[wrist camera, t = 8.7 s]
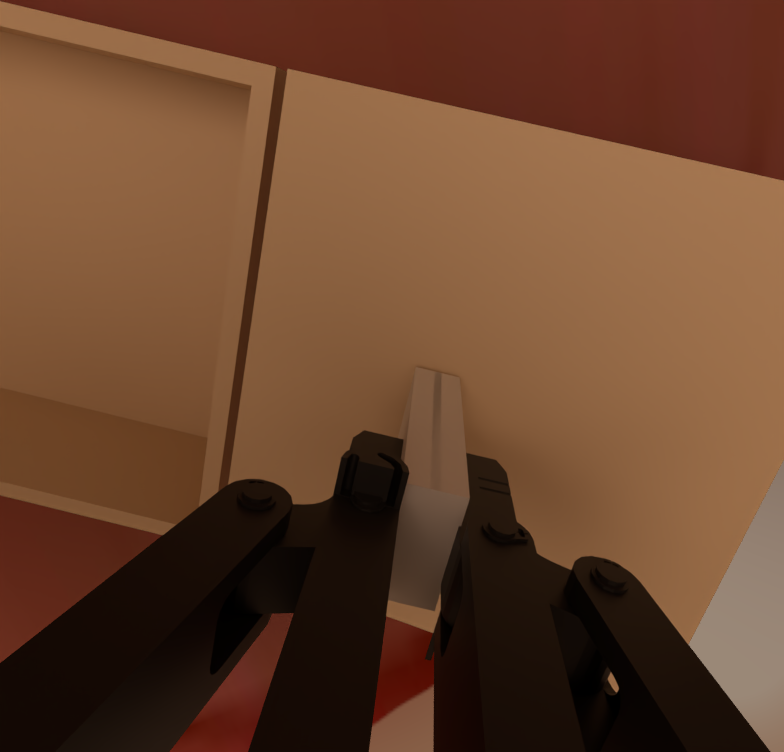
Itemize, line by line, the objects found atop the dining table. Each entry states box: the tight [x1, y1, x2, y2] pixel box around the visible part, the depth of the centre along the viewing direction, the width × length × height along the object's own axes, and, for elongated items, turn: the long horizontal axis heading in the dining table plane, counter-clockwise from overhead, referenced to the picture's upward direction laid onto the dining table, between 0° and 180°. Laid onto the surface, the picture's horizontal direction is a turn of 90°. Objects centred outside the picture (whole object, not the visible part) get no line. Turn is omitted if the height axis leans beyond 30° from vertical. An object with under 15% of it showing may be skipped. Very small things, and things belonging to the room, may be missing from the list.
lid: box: [228, 69, 784, 693], centre depth 18 cm, size 15×16×1 cm
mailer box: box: [0, 1, 287, 535], centre depth 23 cm, size 16×16×7 cm
